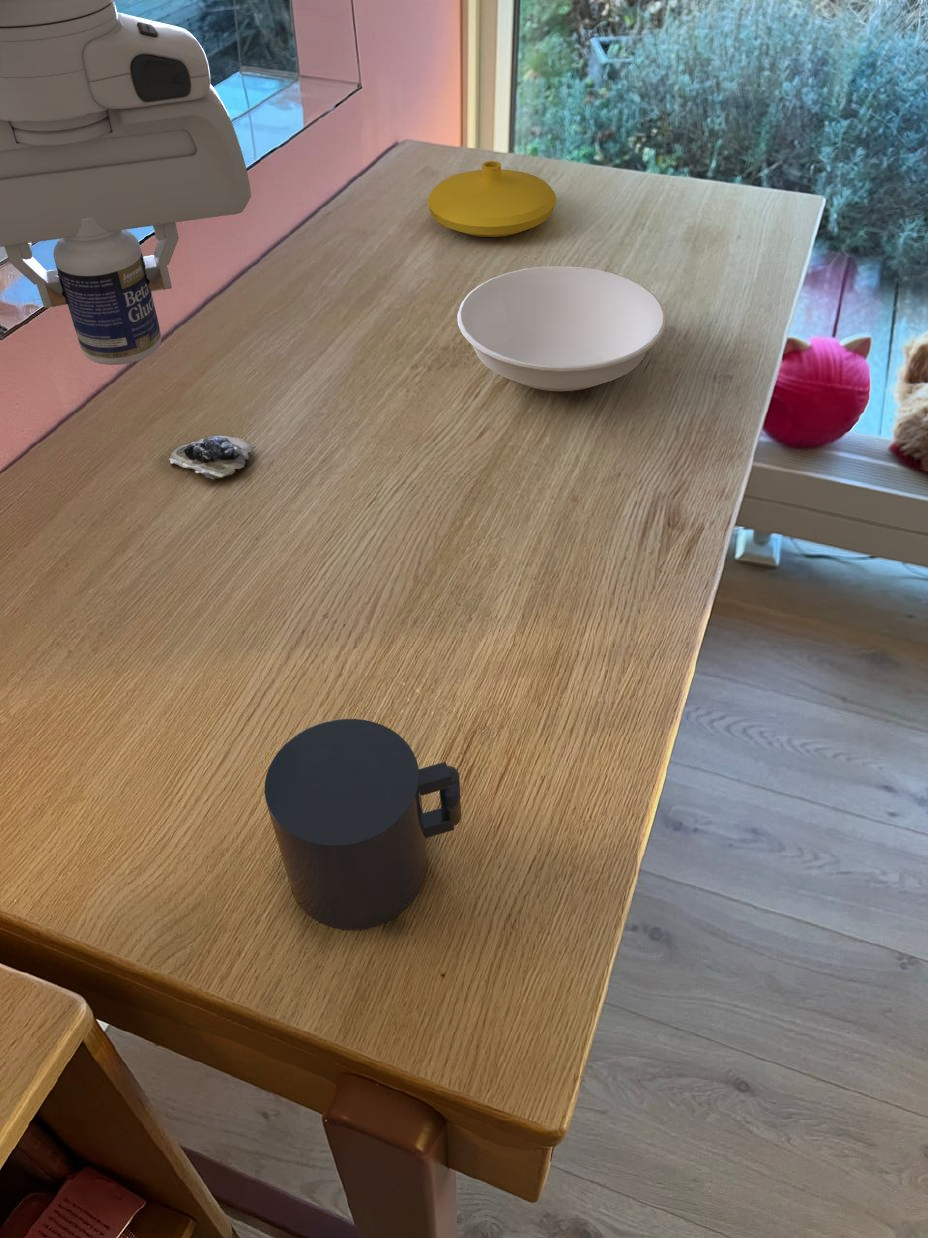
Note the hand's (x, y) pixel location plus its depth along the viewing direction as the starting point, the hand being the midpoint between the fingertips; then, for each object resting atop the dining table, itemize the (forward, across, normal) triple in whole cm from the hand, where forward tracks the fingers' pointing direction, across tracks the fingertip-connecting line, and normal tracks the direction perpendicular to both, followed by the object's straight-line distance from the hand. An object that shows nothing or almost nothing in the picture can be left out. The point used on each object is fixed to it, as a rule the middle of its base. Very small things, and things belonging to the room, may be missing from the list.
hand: (109, 294), depth 66 cm
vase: (+22, +45, +49) cm, 70 cm away
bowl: (+22, +39, +14) cm, 47 cm away
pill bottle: (+4, 0, 0) cm, 4 cm away
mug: (+22, +8, -33) cm, 41 cm away
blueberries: (+23, +4, +12) cm, 26 cm away
